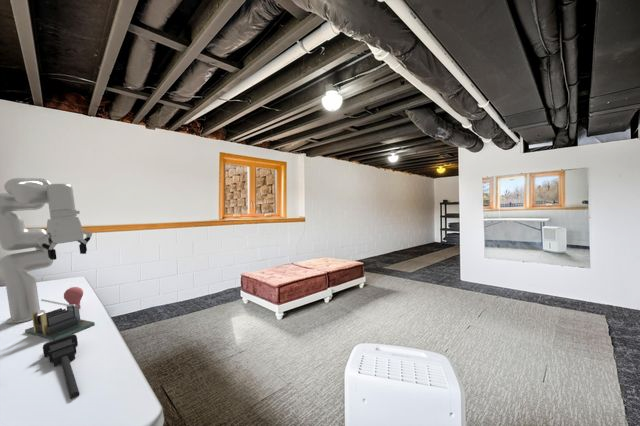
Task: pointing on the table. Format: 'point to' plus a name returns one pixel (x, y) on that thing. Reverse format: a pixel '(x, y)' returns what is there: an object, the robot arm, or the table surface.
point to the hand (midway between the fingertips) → (68, 256)
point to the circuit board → (58, 323)
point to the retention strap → (59, 303)
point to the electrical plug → (64, 359)
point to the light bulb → (73, 295)
